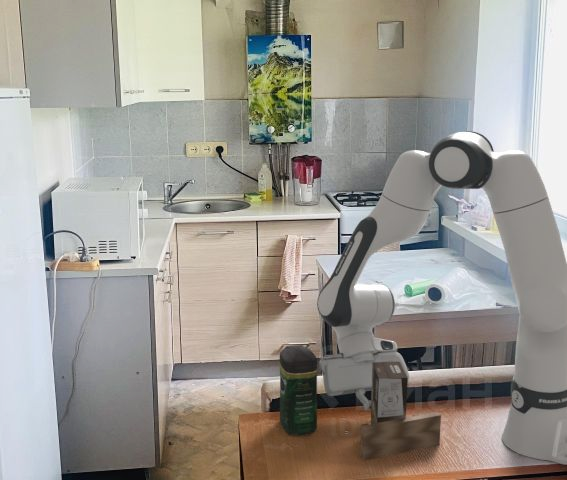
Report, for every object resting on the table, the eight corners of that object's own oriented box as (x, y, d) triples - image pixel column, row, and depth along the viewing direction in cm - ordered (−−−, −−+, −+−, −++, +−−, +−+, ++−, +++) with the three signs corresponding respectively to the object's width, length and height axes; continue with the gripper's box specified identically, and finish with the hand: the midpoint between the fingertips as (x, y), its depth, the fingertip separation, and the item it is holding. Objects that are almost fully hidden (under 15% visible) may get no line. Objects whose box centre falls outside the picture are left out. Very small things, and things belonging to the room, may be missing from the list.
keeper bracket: (426, 433, 152) (427, 404, 151) (439, 445, 147) (441, 415, 146) (352, 447, 147) (352, 417, 145) (363, 460, 141) (364, 429, 140)
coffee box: (405, 448, 146) (408, 378, 142) (375, 448, 146) (377, 378, 142) (398, 427, 155) (400, 360, 151) (369, 427, 155) (371, 360, 151)
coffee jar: (321, 434, 152) (321, 356, 148) (286, 439, 150) (286, 359, 146) (309, 415, 161) (309, 340, 157) (276, 419, 159) (275, 343, 155)
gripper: (321, 351, 155) (336, 410, 149) (402, 341, 161) (419, 398, 155) (313, 361, 160) (327, 419, 154) (392, 351, 167) (409, 407, 160)
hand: (374, 408), depth 154 cm, fingers closed
